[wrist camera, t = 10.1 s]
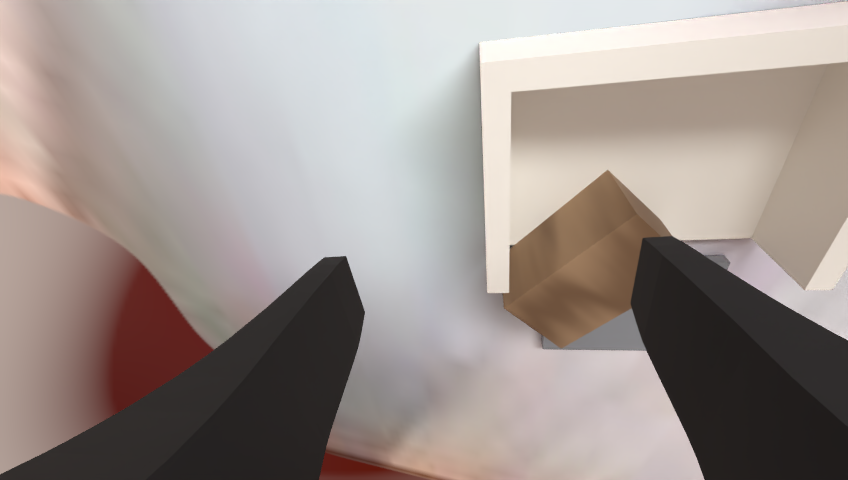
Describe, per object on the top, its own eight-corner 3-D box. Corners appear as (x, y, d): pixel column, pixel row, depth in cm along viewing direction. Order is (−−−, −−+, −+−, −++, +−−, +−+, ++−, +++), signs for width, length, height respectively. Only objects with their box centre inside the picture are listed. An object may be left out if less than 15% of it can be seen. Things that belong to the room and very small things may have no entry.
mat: (724, 255, 20) (730, 262, 20) (688, 343, 24) (692, 351, 24) (548, 259, 22) (550, 266, 21) (541, 341, 26) (542, 349, 25)
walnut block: (697, 270, 16) (561, 348, 19) (659, 218, 19) (549, 294, 23) (636, 213, 15) (503, 308, 18) (607, 169, 18) (499, 256, 21)
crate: (873, -2, 14) (1013, 7, 10) (766, 230, 19) (832, 289, 16) (479, 42, 16) (479, 62, 12) (485, 239, 22) (487, 293, 18)
